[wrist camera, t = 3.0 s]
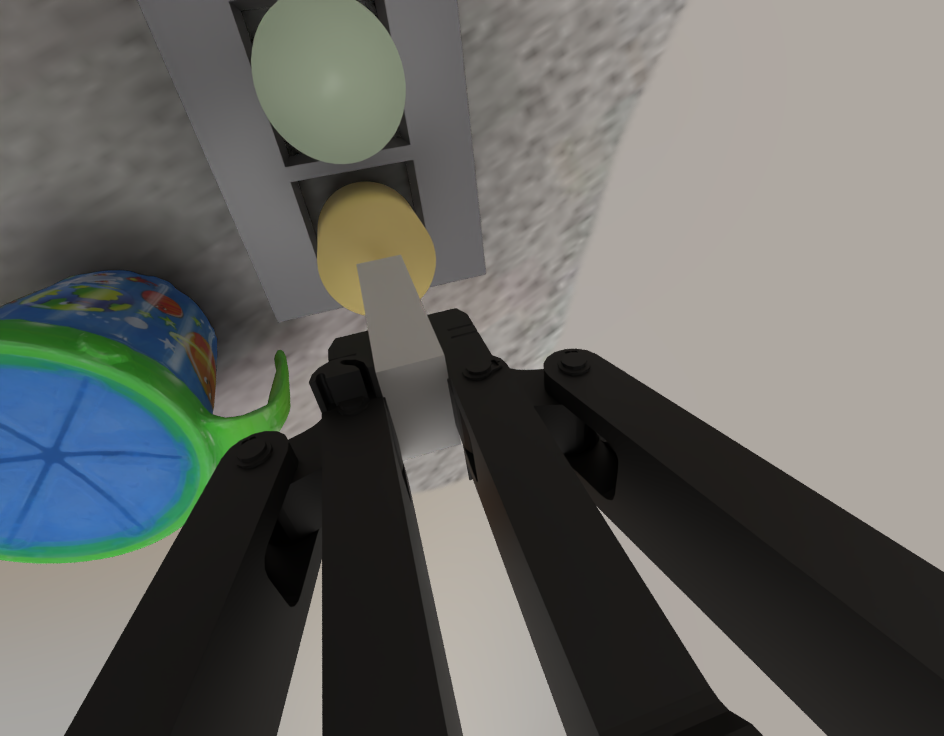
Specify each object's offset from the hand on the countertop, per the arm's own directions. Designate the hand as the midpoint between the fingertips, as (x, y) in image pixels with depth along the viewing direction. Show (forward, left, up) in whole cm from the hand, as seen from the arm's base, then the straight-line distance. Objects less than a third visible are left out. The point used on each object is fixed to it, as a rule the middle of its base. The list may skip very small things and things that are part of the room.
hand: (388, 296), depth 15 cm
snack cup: (+3, -13, -10) cm, 17 cm away
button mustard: (0, 0, -7) cm, 7 cm away
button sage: (-6, 0, -7) cm, 9 cm away
